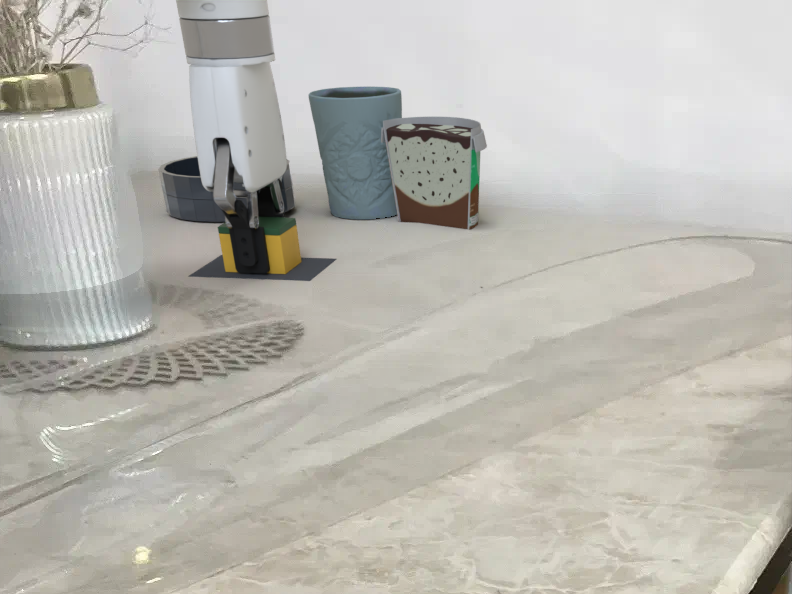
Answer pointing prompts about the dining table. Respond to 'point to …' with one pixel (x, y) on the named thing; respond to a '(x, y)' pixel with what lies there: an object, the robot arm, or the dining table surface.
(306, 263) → the mat
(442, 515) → the dining table surface
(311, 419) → the dining table surface
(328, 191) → the blue embossed cup
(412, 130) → the food container
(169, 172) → the bowl
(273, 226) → the sponge
